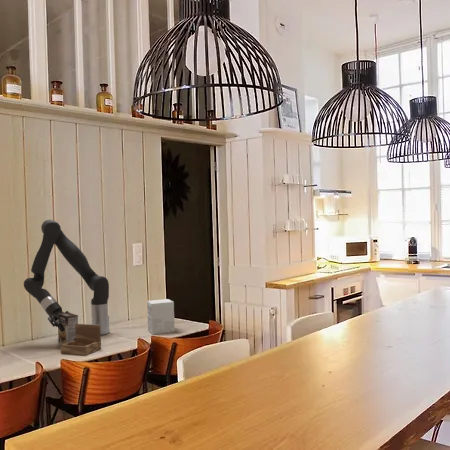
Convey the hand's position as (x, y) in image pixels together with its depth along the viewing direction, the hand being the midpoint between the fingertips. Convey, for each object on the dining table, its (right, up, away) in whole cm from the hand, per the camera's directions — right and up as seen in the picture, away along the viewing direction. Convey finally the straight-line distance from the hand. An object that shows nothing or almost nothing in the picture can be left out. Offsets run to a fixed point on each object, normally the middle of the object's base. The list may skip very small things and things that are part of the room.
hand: (69, 328), depth 255 cm
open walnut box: (+10, -8, -13) cm, 19 cm away
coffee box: (-1, -9, 0) cm, 9 cm away
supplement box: (+45, -7, +28) cm, 53 cm away
